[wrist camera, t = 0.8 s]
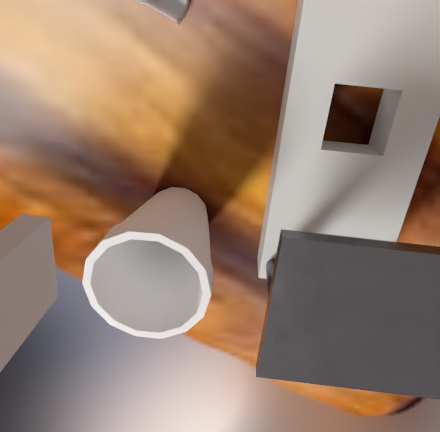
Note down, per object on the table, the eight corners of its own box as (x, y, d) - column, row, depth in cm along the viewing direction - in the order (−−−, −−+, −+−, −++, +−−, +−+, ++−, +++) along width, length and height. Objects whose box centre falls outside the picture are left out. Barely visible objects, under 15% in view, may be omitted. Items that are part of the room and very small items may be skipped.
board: (301, -24, 28) (309, -36, 24) (454, -10, 28) (486, -20, 24) (257, 256, 39) (258, 277, 35) (366, 269, 38) (379, 291, 35)
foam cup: (225, 176, 35) (214, 238, 23) (220, 256, 39) (208, 343, 27) (131, 169, 36) (74, 226, 24) (135, 248, 40) (88, 331, 28)
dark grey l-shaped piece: (270, 172, 31) (282, 237, 20) (421, 188, 30) (518, 263, 19) (253, 277, 35) (256, 376, 24) (384, 292, 35) (446, 400, 24)
